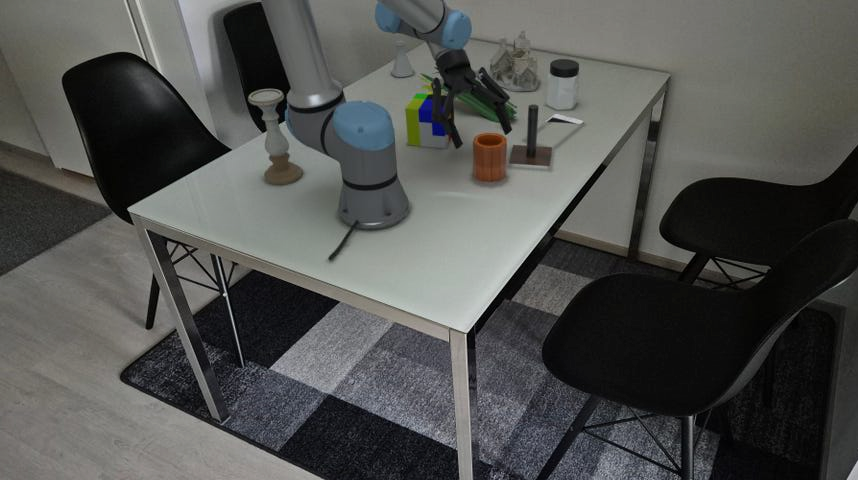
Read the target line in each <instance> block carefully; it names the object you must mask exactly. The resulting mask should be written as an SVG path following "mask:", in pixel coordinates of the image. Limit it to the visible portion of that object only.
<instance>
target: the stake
mask: <svg viewBox="0 0 858 480" xmlns="http://www.w3.org/2000/svg"><path fill="white" fill-rule="evenodd" d="M527 111H528V112H527V128H526V130H527V131H526V145H523V144H512V148H511V152H510V157H509V161H508V164H510V165H523V166H541V167H550V166H551V160H552V159H551V158H552V152H553V147H552V146H537V141H538V125H539V124H538V123H539V105H538V104H534V103H533V104H529V105H528V108H527Z"/></svg>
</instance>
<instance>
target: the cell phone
mask: <svg viewBox="0 0 858 480" xmlns="http://www.w3.org/2000/svg"><path fill="white" fill-rule="evenodd" d="M544 122H545V123H558V124H560V123H561V124H573V125H574V124H575V125H584V123H585V122H584V120H582V119H578V118H574V117H571V116H566V115H563V114H559V113H555V114H553V115H552V116H551V117H549V118H548V119H546V120H545V121H544Z"/></svg>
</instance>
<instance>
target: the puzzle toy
mask: <svg viewBox="0 0 858 480" xmlns="http://www.w3.org/2000/svg"><path fill="white" fill-rule="evenodd" d="M446 98H447V95H444V94H443V95H441V109H440V114H442V111H443V108H444V105H445V101H446ZM454 100H455V99H454ZM454 100H453V103H452V107H451V110H450V113H449V116H448V119H449V118H452V119H453V121H454V122H455V101H454ZM432 103H433V94H426V93H419V92H416V93H415V94H414V95H413V97H412V99H411V100H410V101H409V103H408V104H407V106H406V107H405V119H406V120H405V122H406V133H407V145H408V146H416V147H428V148H438V149H446V148H447V147H448V145H449V143H450V141H451V140H452V139H451V136H450V135H447V134H446V132H445V130H444V128H443V125H441V124H439V122H433V121H432Z"/></svg>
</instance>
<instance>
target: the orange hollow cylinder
mask: <svg viewBox="0 0 858 480" xmlns="http://www.w3.org/2000/svg"><path fill="white" fill-rule="evenodd" d="M507 146H508V140H507V137H506V136H505V135H503V134H500V133H496V132H483V133H479V134H477V135H475V136H474V137H473V139H472V176H473V177H474V178H475V179H476V180H477V181H480V182H483V183H496V182H500V181H502V180H504V179H505V178H506V175H507Z"/></svg>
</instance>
